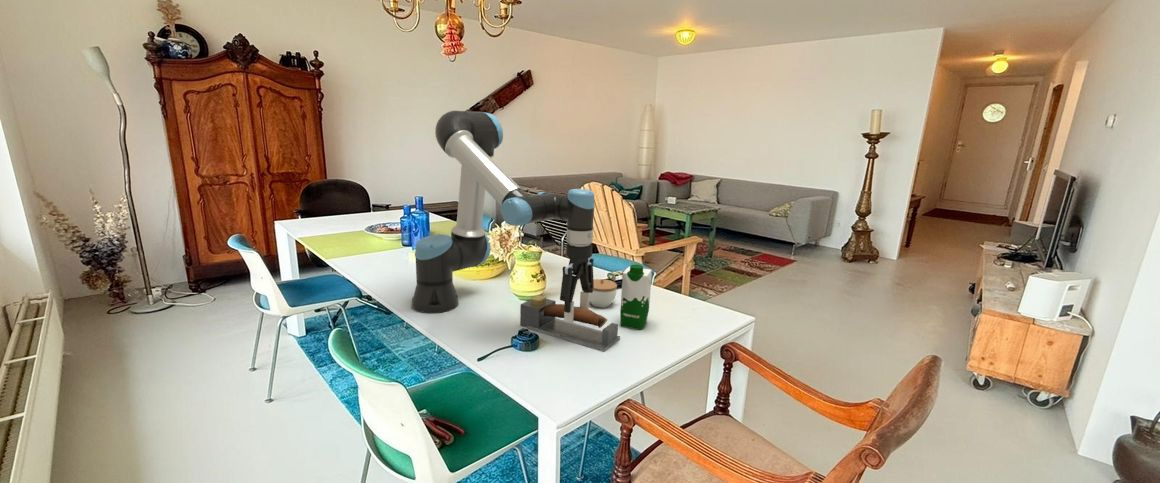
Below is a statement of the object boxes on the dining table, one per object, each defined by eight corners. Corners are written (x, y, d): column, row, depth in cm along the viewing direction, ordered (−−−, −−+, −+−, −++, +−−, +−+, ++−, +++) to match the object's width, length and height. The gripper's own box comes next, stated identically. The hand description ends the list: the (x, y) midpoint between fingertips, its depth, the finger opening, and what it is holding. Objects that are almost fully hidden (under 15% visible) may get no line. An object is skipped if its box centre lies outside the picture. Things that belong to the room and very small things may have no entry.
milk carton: (616, 327, 152) (620, 266, 147) (623, 317, 160) (627, 259, 155) (644, 331, 149) (649, 270, 144) (649, 321, 157) (654, 262, 153)
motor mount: (516, 325, 150) (517, 299, 148) (535, 315, 158) (536, 290, 156) (604, 351, 134) (605, 323, 132) (620, 339, 143) (621, 312, 141)
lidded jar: (614, 299, 176) (615, 275, 174) (617, 310, 165) (619, 284, 163) (585, 298, 175) (586, 274, 173) (586, 309, 165) (587, 283, 163)
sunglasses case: (609, 318, 144) (606, 303, 140) (601, 336, 140) (597, 322, 135) (555, 307, 151) (551, 293, 147) (546, 324, 147) (541, 310, 142)
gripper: (571, 252, 128) (568, 332, 133) (607, 238, 145) (604, 309, 150) (548, 248, 131) (546, 325, 137) (586, 235, 149) (583, 304, 154)
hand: (576, 317), depth 143 cm, fingers closed on sunglasses case, 8 cm apart
